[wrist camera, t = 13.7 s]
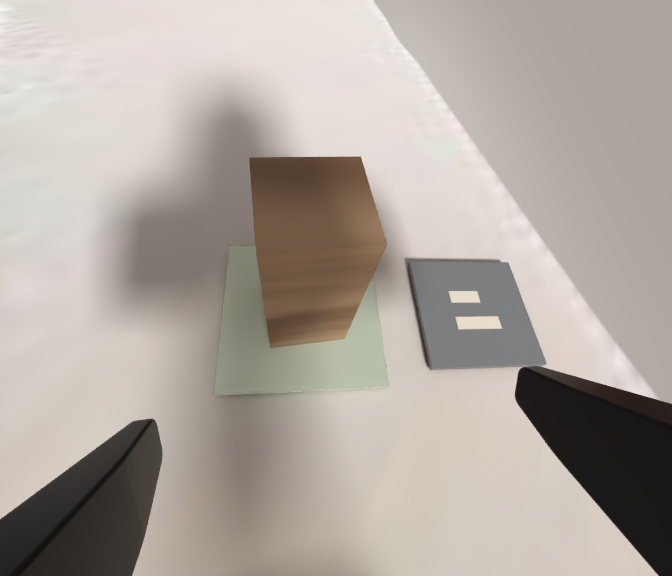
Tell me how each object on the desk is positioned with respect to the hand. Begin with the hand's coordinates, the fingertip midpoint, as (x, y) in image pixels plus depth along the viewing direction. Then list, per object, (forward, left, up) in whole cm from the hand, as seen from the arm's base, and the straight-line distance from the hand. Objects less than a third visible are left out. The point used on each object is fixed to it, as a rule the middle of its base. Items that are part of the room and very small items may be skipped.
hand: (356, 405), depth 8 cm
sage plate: (+8, +1, -12) cm, 14 cm away
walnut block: (+8, +1, -11) cm, 14 cm away
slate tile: (+8, -11, -12) cm, 18 cm away
